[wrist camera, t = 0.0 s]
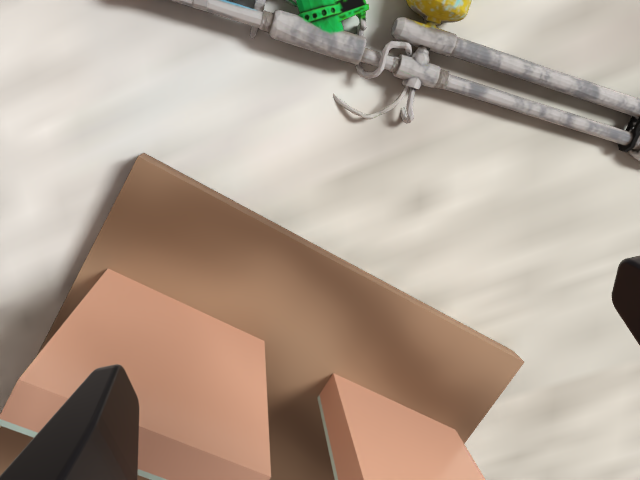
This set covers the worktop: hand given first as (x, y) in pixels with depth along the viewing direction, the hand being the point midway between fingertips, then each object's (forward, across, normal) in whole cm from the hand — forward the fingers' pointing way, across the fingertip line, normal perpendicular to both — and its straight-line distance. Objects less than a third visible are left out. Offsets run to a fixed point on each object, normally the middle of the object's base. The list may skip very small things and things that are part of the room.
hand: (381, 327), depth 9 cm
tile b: (+12, +7, +9) cm, 17 cm away
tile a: (+11, -2, +16) cm, 20 cm away
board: (+12, +4, +15) cm, 20 cm away
